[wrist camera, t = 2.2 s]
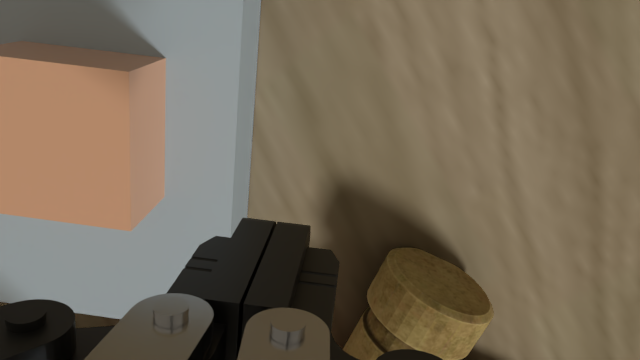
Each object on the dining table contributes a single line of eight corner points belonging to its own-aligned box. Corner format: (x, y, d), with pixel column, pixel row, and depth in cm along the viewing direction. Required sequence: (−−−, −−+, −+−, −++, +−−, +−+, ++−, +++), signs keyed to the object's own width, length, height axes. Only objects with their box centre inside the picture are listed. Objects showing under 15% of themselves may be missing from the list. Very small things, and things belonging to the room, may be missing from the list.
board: (-168, -150, 21) (-255, -170, 18) (267, -105, 20) (249, -119, 17) (-102, 246, 26) (-160, 278, 23) (242, 294, 25) (225, 334, 22)
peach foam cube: (21, 40, 19) (-40, 51, 16) (165, 57, 19) (128, 71, 16) (31, 179, 21) (-23, 210, 18) (164, 196, 21) (130, 231, 18)
